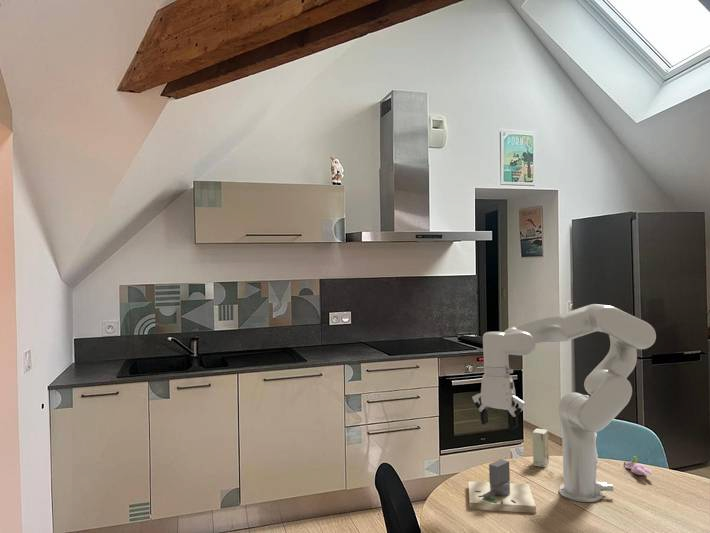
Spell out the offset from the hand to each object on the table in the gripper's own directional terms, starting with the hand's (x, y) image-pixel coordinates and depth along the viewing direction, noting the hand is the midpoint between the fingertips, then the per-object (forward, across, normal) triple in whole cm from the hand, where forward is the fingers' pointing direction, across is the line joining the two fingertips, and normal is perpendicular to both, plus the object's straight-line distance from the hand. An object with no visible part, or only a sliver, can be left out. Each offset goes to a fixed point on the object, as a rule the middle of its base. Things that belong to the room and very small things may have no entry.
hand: (499, 425), depth 162 cm
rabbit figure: (+24, -28, -46) cm, 59 cm away
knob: (+20, +1, +3) cm, 21 cm away
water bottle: (+23, -12, -44) cm, 51 cm away
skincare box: (+23, +1, -35) cm, 42 cm away
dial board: (+23, 0, +1) cm, 23 cm away
